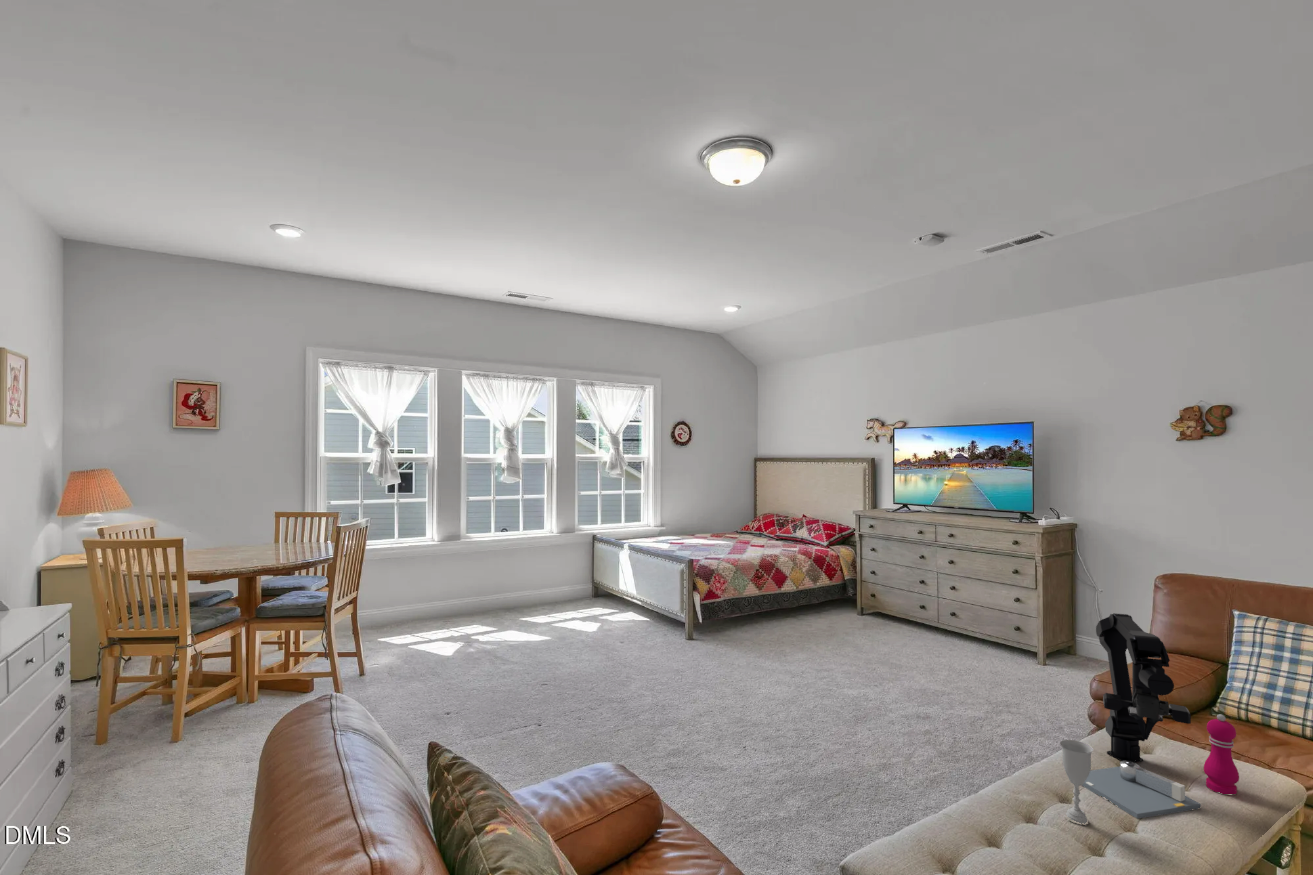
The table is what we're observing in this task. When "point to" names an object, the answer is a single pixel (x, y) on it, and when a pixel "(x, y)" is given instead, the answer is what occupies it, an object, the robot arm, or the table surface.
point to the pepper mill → (1221, 757)
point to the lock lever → (1151, 780)
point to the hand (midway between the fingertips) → (1145, 739)
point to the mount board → (1134, 795)
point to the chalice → (1076, 772)
